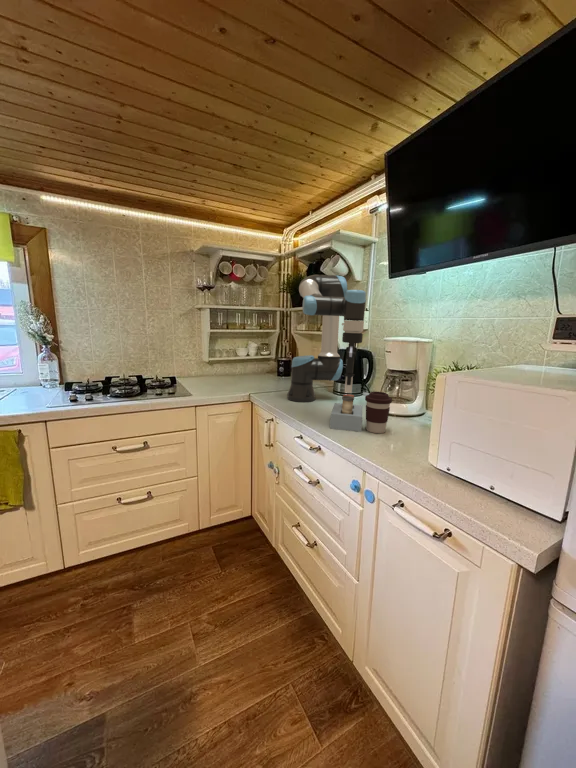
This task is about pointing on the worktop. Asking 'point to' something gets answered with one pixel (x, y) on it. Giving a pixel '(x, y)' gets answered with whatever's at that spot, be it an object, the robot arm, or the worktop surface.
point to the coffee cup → (377, 411)
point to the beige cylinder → (347, 404)
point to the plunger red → (349, 395)
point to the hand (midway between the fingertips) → (348, 392)
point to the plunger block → (346, 418)
